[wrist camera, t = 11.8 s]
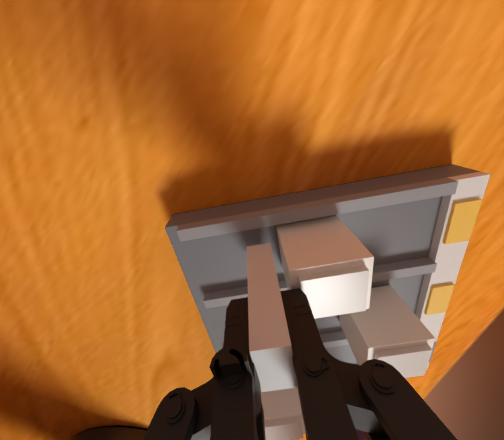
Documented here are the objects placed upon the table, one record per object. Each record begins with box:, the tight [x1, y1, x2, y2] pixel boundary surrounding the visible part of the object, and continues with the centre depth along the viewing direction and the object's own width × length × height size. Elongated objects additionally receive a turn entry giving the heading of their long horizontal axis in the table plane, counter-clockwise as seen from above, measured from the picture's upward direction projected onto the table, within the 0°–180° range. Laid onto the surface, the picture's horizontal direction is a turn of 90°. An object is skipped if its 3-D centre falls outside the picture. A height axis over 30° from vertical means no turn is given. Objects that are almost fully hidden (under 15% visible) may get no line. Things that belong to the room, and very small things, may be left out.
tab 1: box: [261, 387, 306, 440], centre depth 19 cm, size 4×4×5 cm
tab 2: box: [276, 215, 374, 319], centre depth 13 cm, size 4×4×5 cm
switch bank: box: [165, 164, 490, 368], centre depth 19 cm, size 20×20×3 cm
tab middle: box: [339, 285, 435, 378], centre depth 16 cm, size 4×4×5 cm
